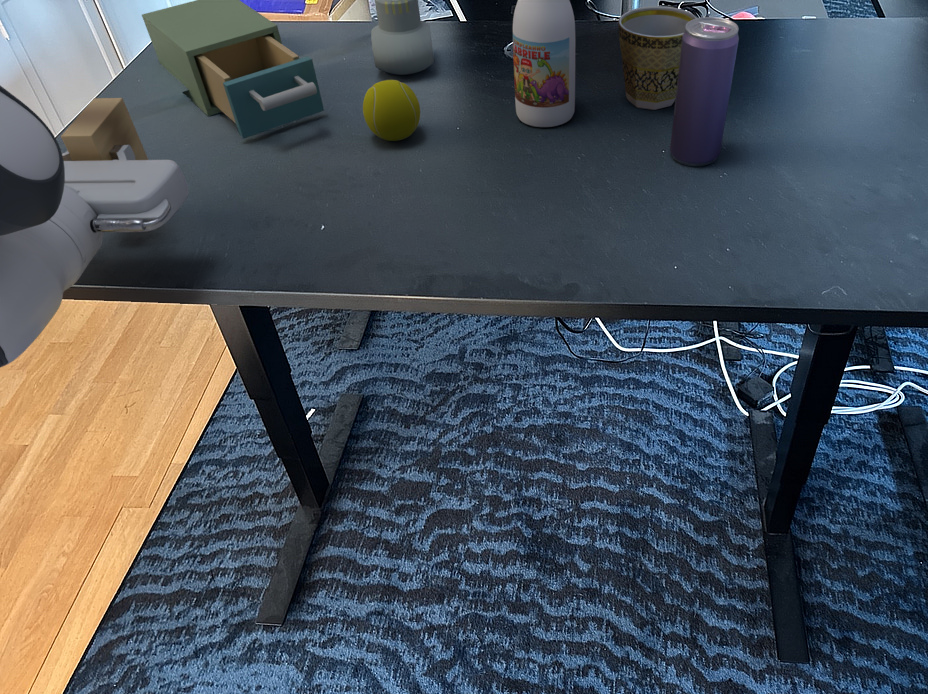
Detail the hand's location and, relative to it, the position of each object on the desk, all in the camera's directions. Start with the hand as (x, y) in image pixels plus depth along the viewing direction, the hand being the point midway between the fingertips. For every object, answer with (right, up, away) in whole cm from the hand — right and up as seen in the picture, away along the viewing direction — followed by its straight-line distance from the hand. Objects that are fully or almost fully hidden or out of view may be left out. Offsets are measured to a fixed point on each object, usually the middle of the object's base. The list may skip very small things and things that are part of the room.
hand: (104, 151), depth 78 cm
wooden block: (0, -3, +4) cm, 6 cm away
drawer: (+8, +13, +24) cm, 29 cm away
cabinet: (0, +20, +32) cm, 38 cm away
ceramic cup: (+60, +16, +26) cm, 68 cm away
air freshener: (+25, +23, +34) cm, 48 cm away
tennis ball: (+26, +8, +20) cm, 34 cm away
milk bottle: (+45, +12, +23) cm, 52 cm away
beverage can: (+63, +4, +15) cm, 65 cm away
